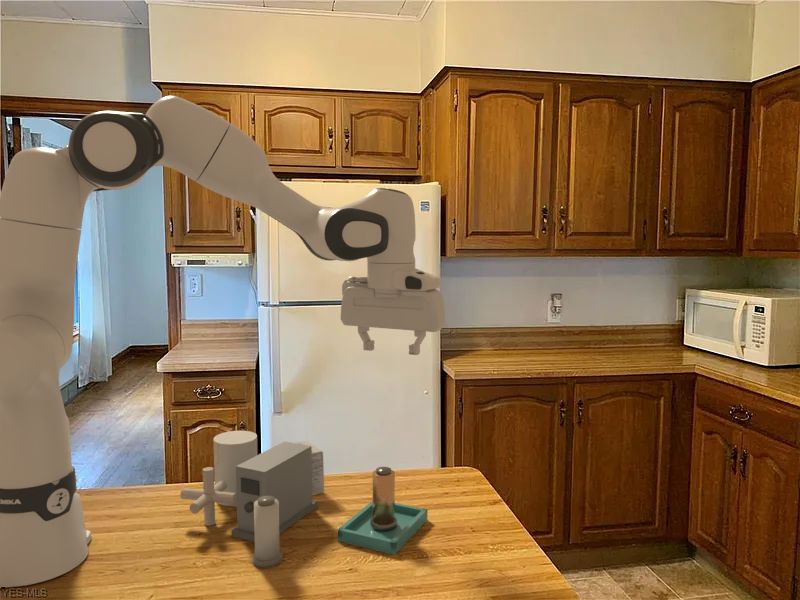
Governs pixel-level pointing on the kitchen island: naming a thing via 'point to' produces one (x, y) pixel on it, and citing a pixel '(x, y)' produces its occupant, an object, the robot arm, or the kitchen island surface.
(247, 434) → the light grey cylinder
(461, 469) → the kitchen island surface
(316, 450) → the medicine box
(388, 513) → the copper cartridge
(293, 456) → the box
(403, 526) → the tray
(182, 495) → the pipe connector
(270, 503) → the cylinder
